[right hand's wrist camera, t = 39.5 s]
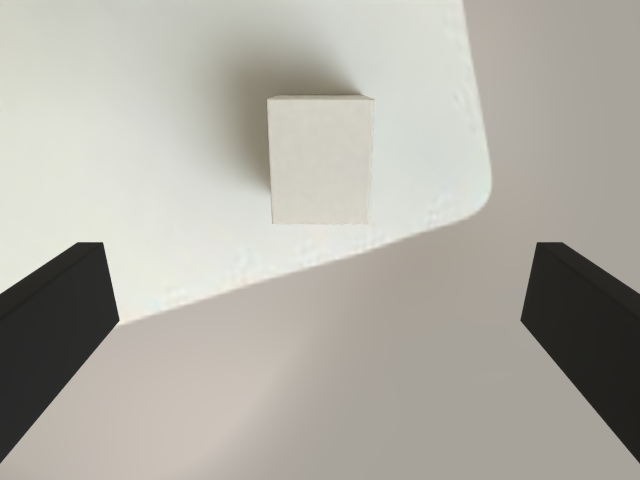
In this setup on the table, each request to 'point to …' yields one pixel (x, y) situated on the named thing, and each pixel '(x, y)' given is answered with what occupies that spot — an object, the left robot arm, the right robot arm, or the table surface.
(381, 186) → the table surface
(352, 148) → the block
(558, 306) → the right robot arm
